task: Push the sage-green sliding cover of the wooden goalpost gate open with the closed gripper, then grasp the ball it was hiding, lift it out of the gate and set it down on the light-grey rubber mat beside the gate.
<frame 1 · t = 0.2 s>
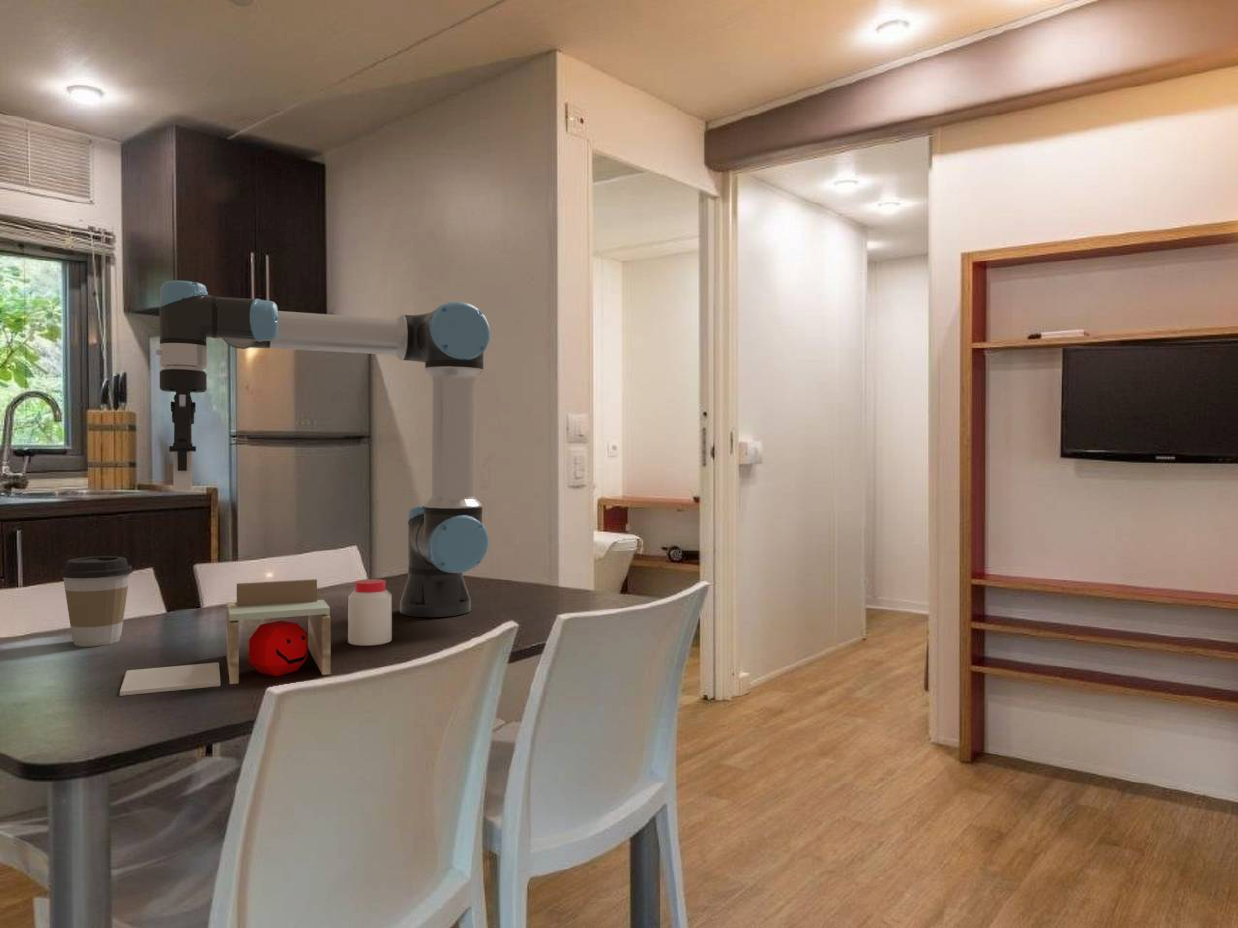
hand: (183, 488, 157), 28 cm above the table, fingers open, 13 cm apart
ball: (278, 672, 139), on the table
coffee cup: (97, 643, 158), on the table
mat: (172, 679, 133), on the table
pill bottle: (370, 641, 161), on the table
wooden goalpost gate: (276, 664, 143), on the table
cover: (278, 598, 138), point 12 cm above the table, slide at 0.0 cm
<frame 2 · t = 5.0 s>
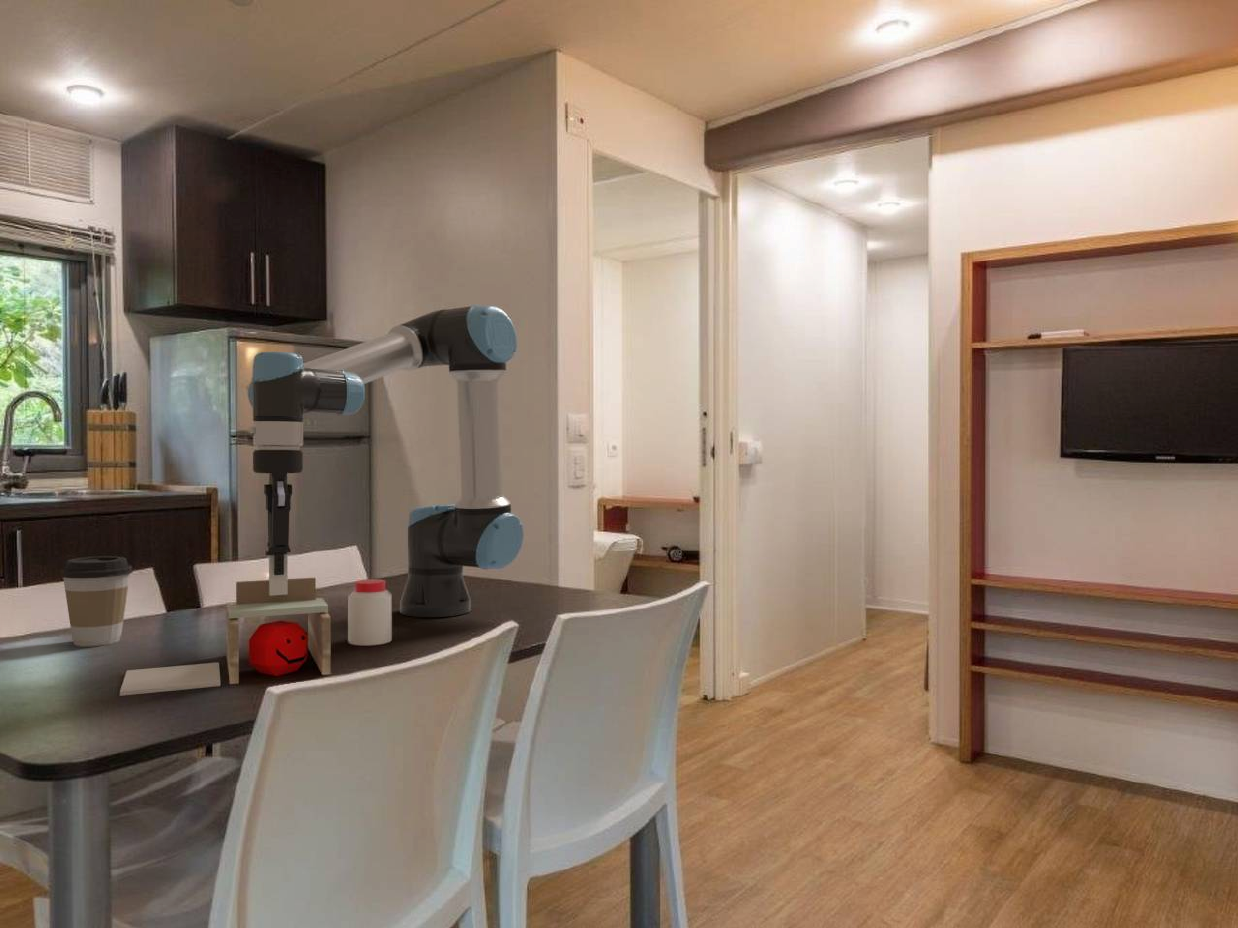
hand: (278, 594, 142), 12 cm above the table, fingers closed
cover: (277, 596, 140), point 12 cm above the table, slide at 2.0 cm, touching gripper
everything else where it was.
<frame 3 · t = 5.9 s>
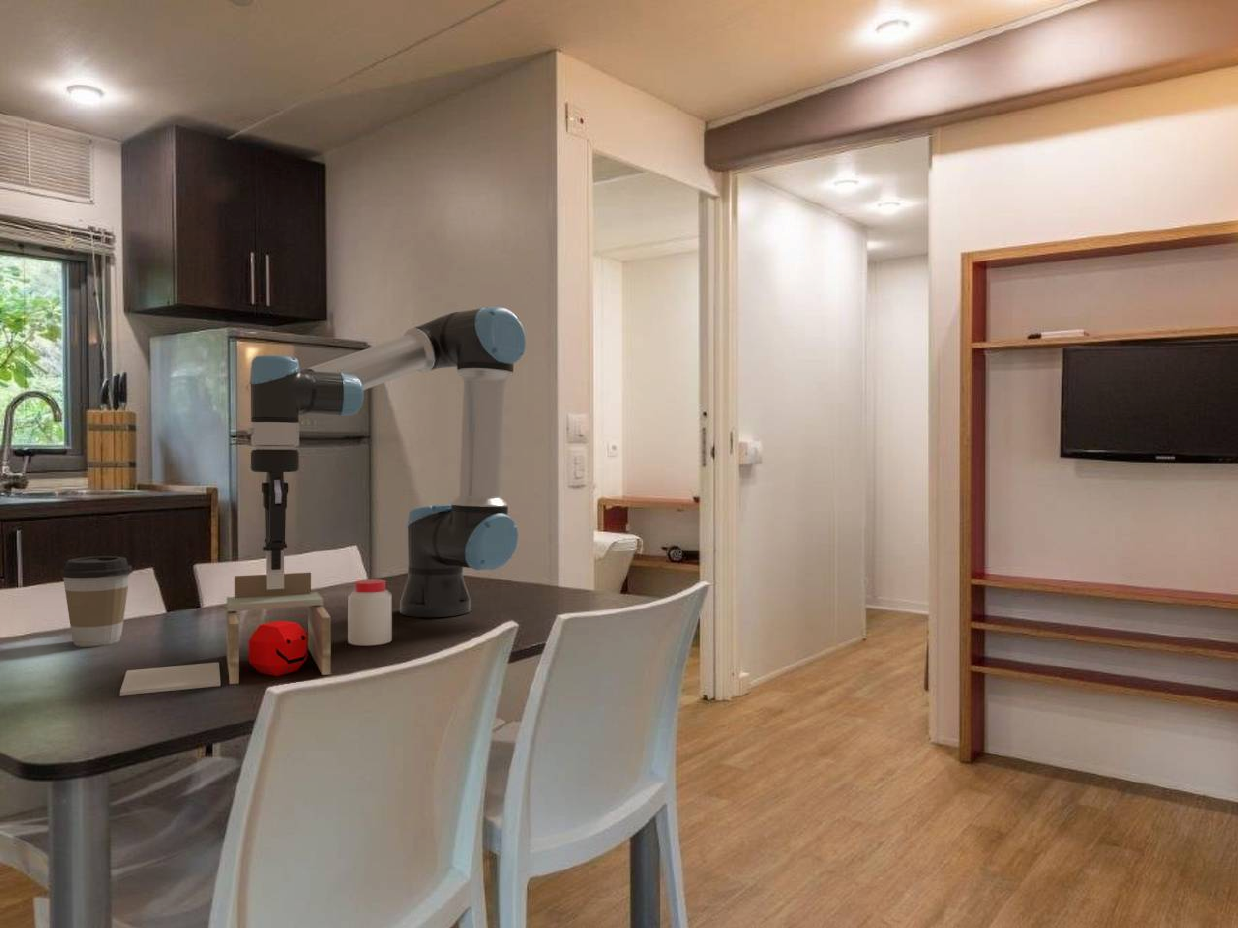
hand: (275, 588, 148), 12 cm above the table, fingers closed
cover: (274, 590, 146), point 12 cm above the table, slide at 8.5 cm, touching gripper
everything else where it was.
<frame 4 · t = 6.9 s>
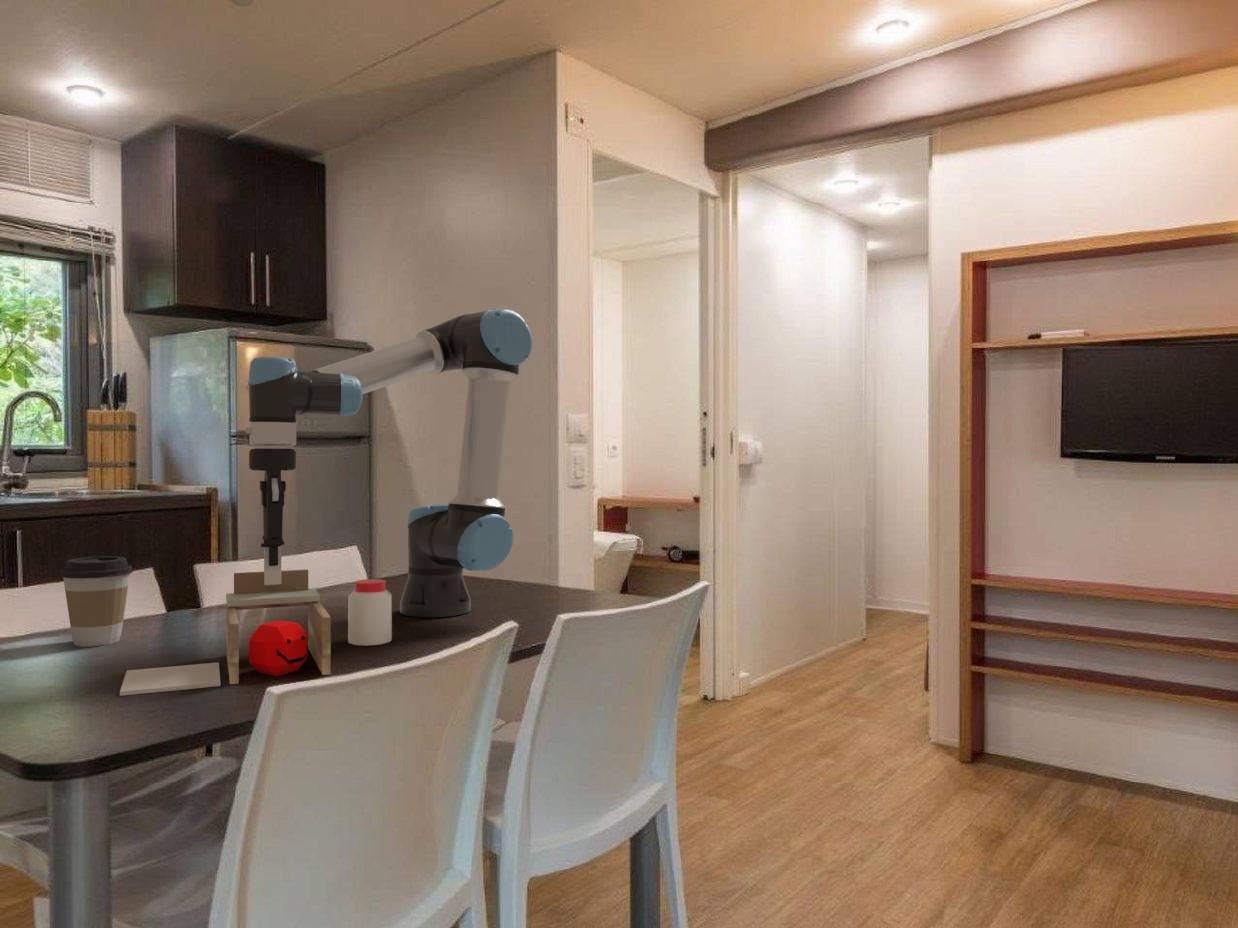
hand: (272, 583, 151), 12 cm above the table, fingers closed
cover: (272, 586, 150), point 12 cm above the table, slide at 12.7 cm, touching gripper
everything else where it was.
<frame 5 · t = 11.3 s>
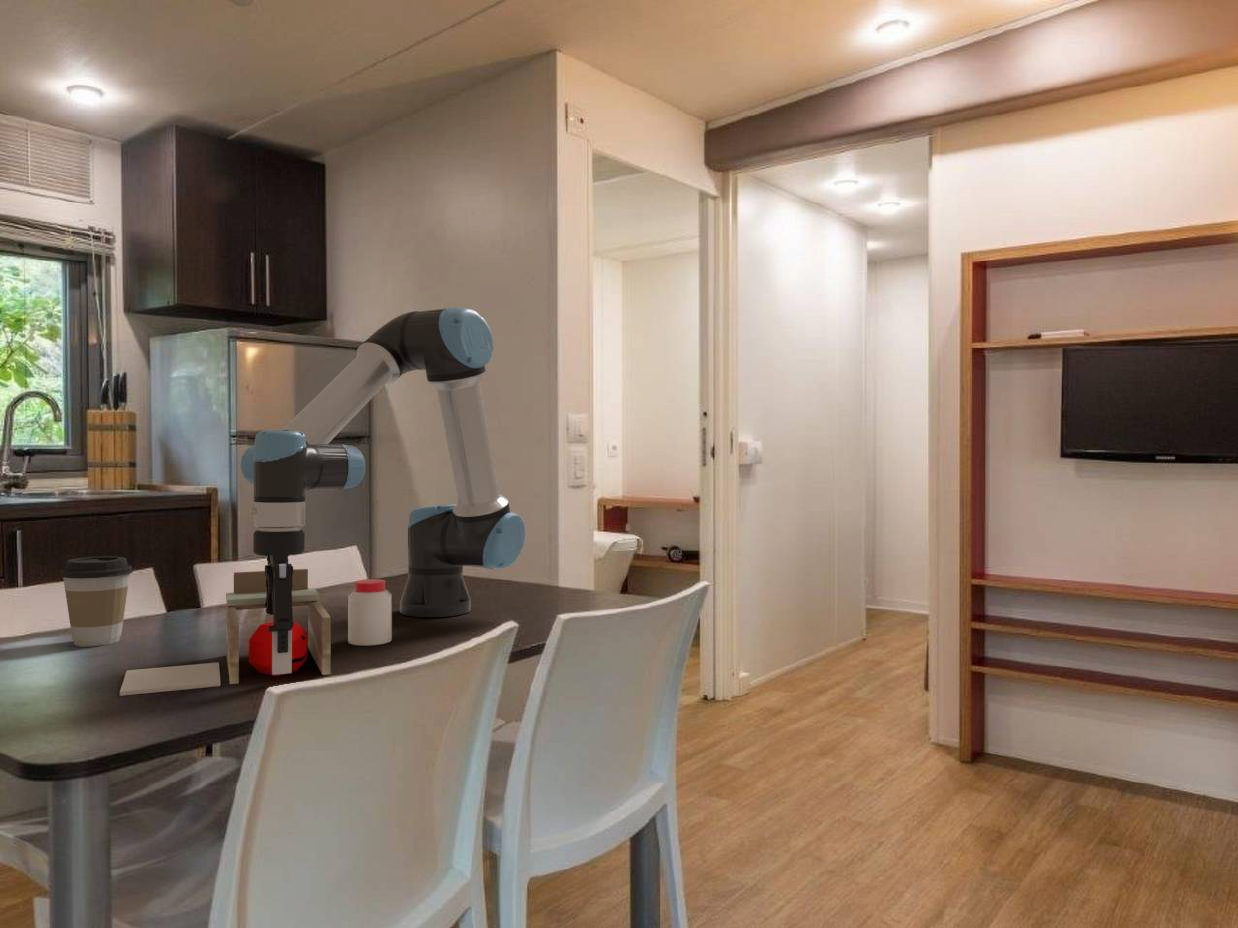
hand: (278, 663, 138), 1 cm above the table, fingers open, 13 cm apart
cover: (272, 586, 151), point 12 cm above the table, slide at 13.6 cm
everything else where it was.
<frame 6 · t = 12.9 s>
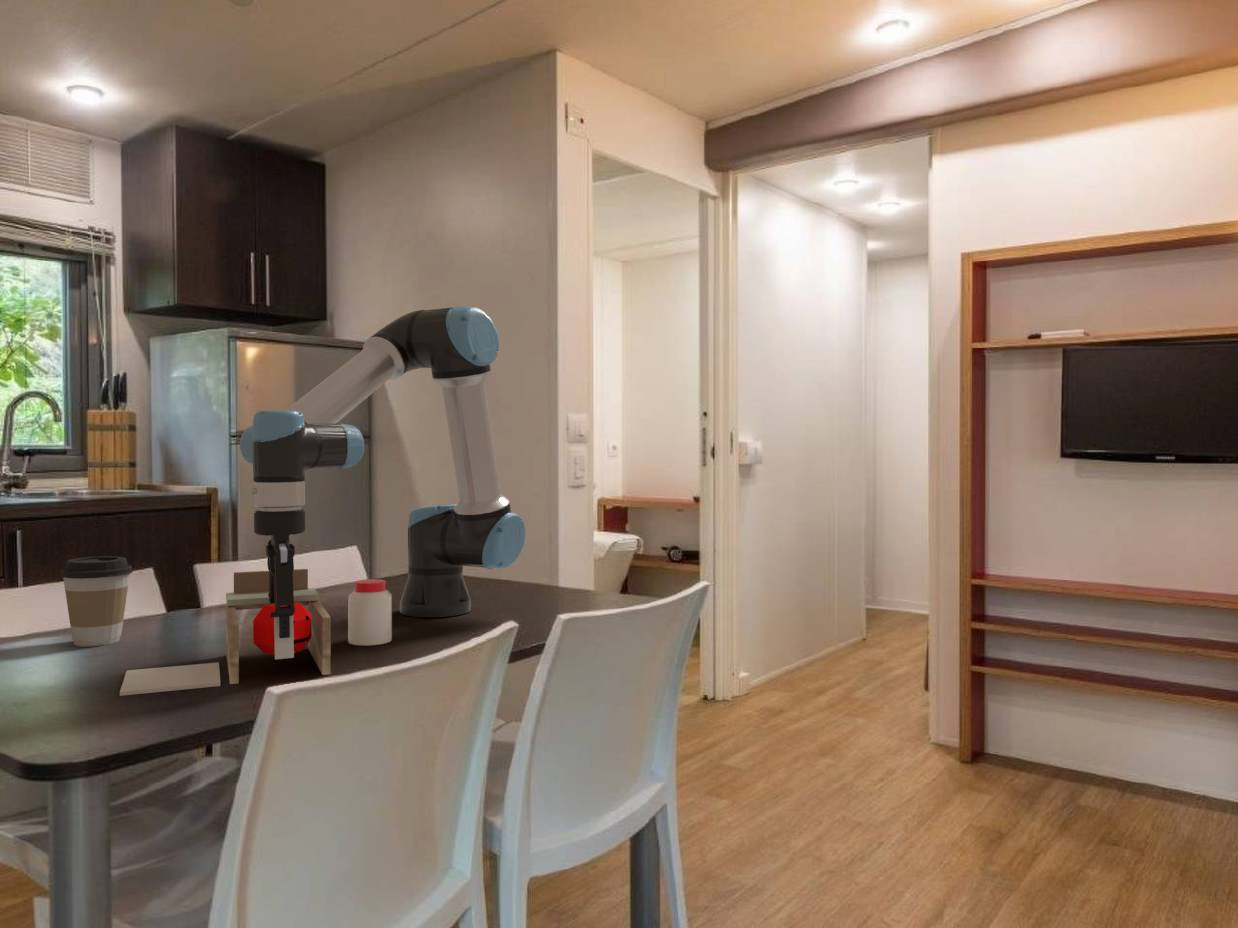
hand: (281, 650, 139), 3 cm above the table, fingers closed on ball, 9 cm apart
ball: (283, 653, 139), point 3 cm above the table, touching gripper
everything else where it was.
when the fingers open (2 cm above the table, at t = 17.3 s): ball drops 1 cm, resting on mat.
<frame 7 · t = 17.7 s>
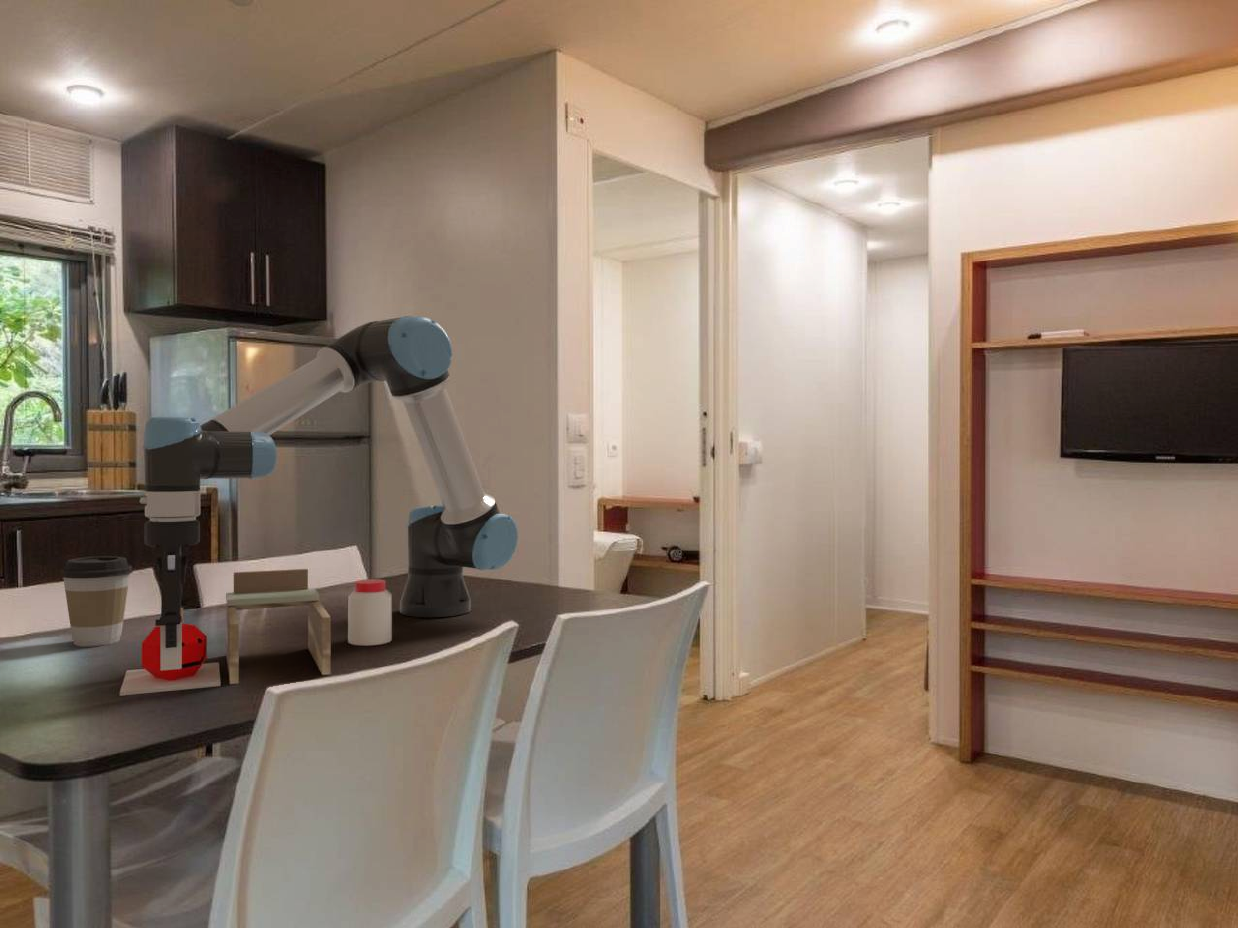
hand: (172, 658, 133), 3 cm above the table, fingers open, 13 cm apart
ball: (174, 677, 133), resting on mat
everything else where it was.
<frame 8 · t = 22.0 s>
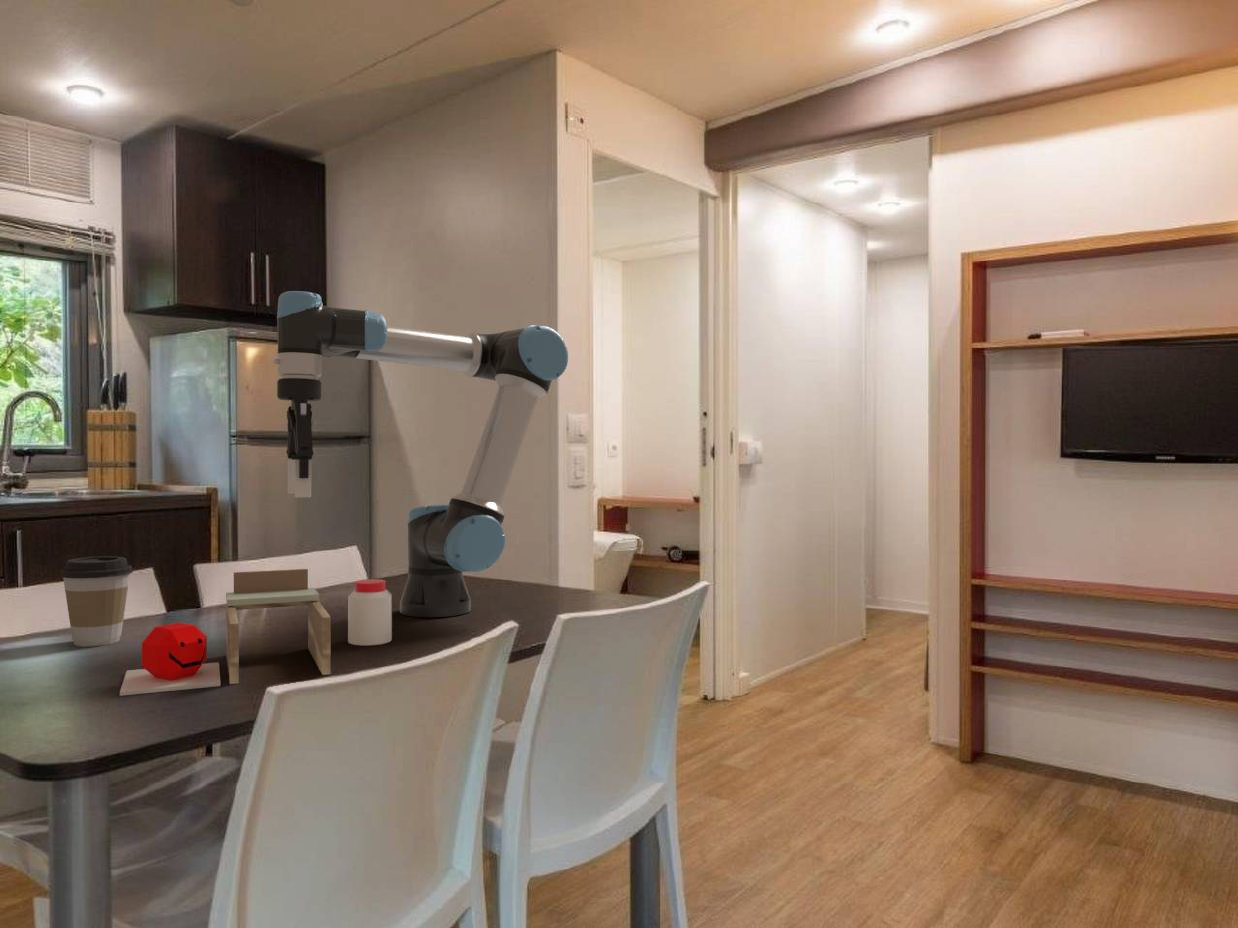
hand: (299, 495, 159), 27 cm above the table, fingers open, 13 cm apart
nothing on the table moved.
at the end: cover slide at 13.6 cm; ball inside the target area (0.4 cm from its centre), on the table; the gripper is holding nothing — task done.
